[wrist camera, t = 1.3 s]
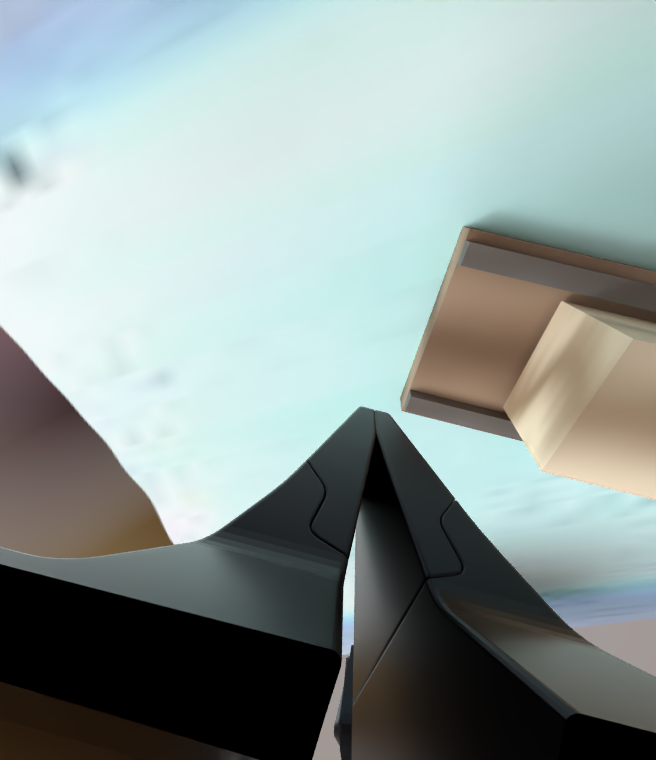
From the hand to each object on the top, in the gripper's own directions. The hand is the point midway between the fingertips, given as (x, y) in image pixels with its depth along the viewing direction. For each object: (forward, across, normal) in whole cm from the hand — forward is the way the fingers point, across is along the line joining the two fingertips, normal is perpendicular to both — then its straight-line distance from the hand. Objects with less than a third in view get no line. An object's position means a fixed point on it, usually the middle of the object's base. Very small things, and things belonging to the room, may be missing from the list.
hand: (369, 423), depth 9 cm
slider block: (+9, -11, 0) cm, 14 cm away
